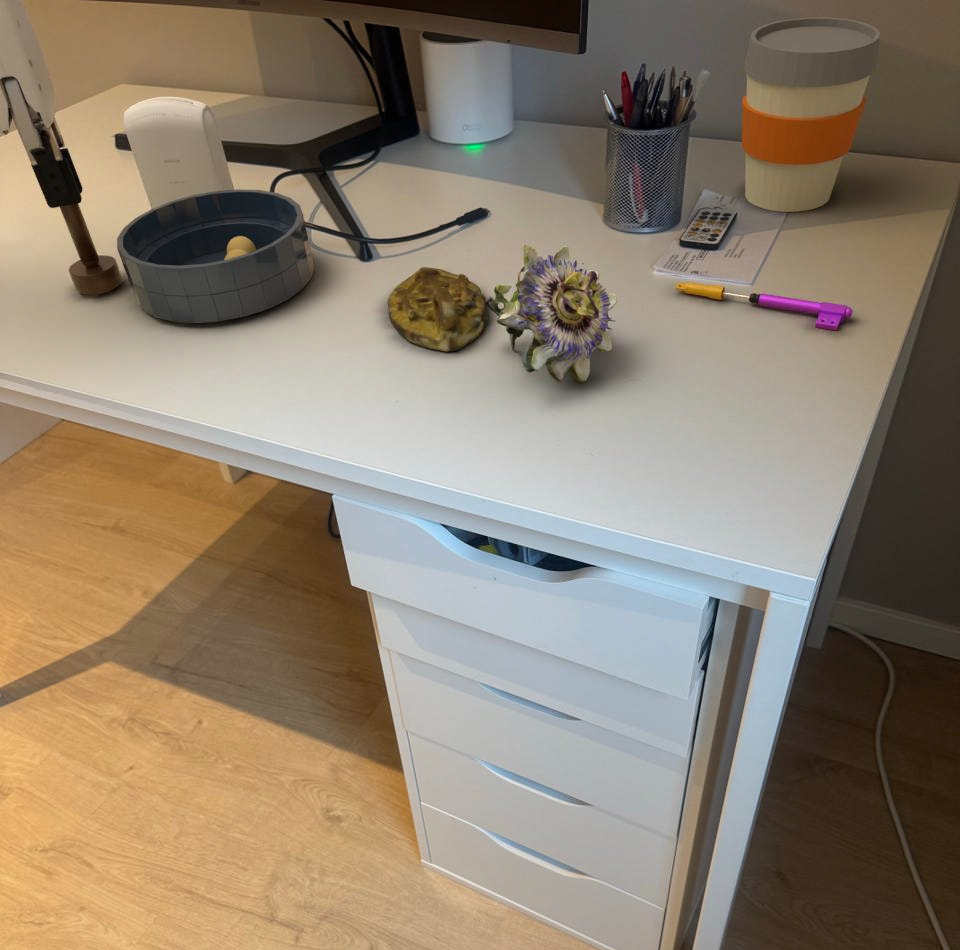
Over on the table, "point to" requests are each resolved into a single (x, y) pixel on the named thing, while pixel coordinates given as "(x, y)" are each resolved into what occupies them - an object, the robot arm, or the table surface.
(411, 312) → the lumpy olive cookie
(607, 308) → the passion flower
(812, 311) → the piston cylinder
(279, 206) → the bowl
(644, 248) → the table surface
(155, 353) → the table surface
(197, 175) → the photo printer
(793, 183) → the reusable coffee cup
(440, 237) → the table surface
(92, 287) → the wooden dough tamper
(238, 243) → the dough ball
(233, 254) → the dough ball
